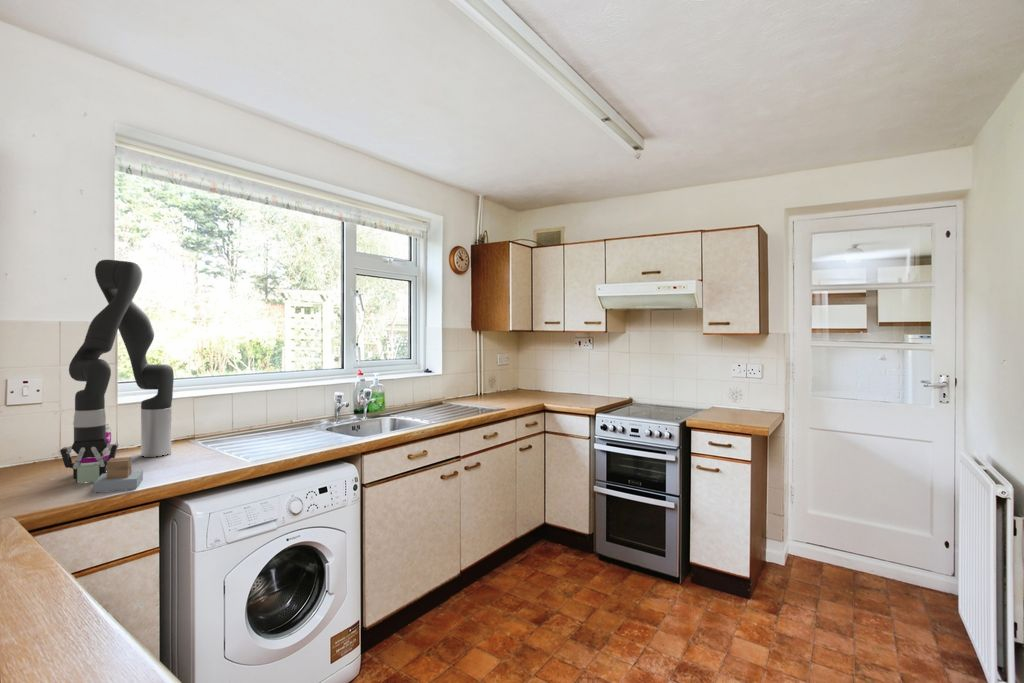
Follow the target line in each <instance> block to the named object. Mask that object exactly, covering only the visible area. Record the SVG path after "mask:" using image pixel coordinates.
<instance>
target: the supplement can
mask: <svg viewBox="0 0 1024 683" xmlns="http://www.w3.org/2000/svg"><path fill="white" fill-rule="evenodd" d="M106 441H107V443H108V444H112V428H111V426H110V424H108V423H106ZM102 453H103V455H104V458H105V460H108V458H109V454H110V451H109V450H108V447H106V448H105V449H104V450H103V451H102ZM93 462H98V461H97V460H96V458H95V457H87V458H83V460H82V462H81V464H82V463H93ZM81 464H80V465H81ZM106 471H107V466H106Z"/></svg>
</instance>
